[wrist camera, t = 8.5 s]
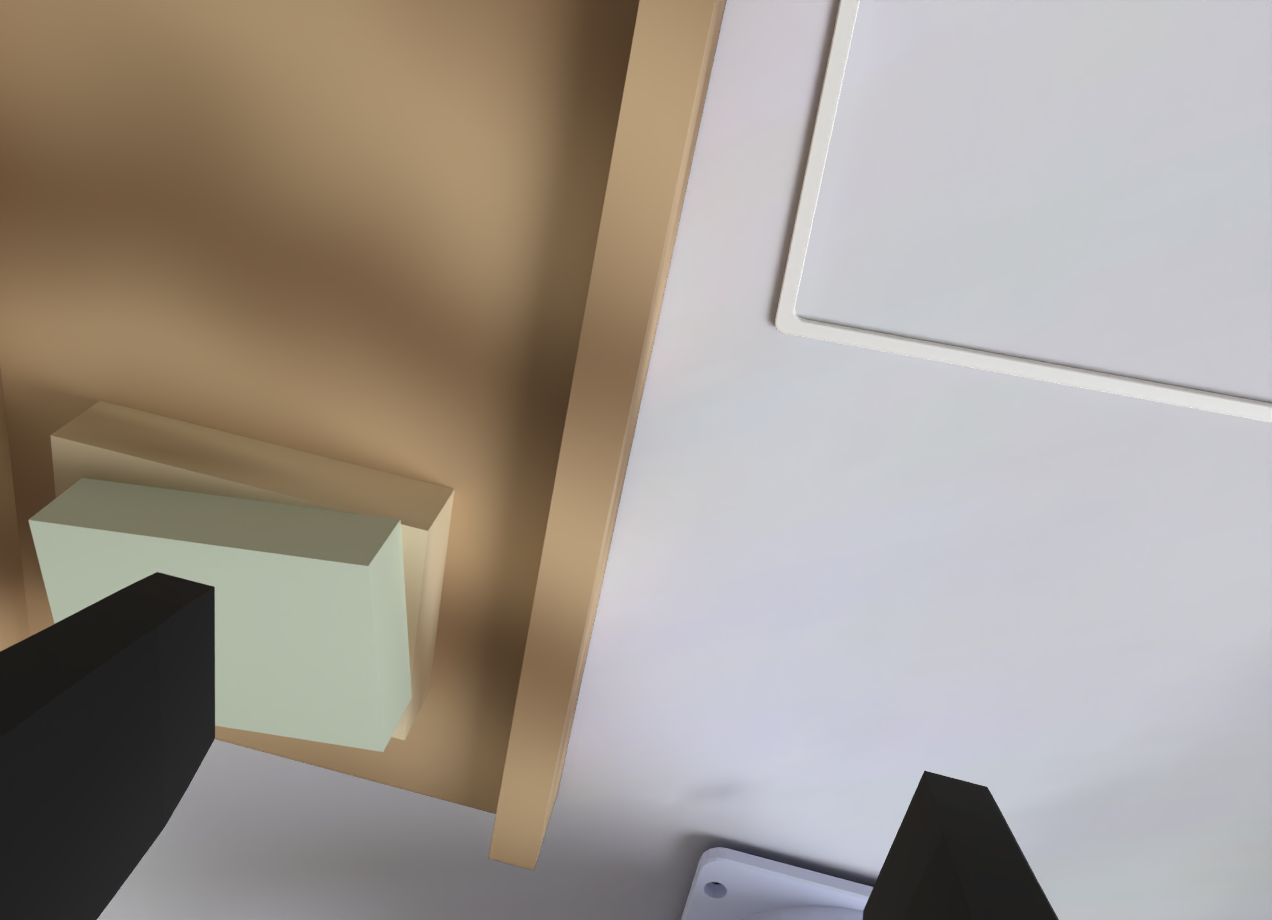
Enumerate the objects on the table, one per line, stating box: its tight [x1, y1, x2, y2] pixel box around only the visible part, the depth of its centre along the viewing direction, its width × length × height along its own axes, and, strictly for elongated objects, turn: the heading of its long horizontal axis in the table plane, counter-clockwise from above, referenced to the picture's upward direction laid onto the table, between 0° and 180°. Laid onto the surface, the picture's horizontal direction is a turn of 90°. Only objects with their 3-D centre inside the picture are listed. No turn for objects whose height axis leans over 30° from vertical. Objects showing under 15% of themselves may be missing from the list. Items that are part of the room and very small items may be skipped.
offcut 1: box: [50, 401, 454, 740], centre depth 21 cm, size 5×7×2 cm
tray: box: [0, 0, 726, 870], centre depth 19 cm, size 22×13×2 cm, turn 169°
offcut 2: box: [28, 478, 412, 752], centre depth 20 cm, size 4×6×2 cm, turn 87°
